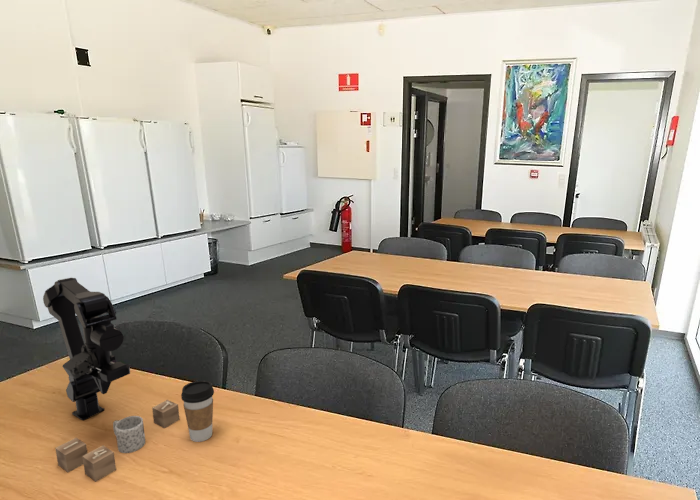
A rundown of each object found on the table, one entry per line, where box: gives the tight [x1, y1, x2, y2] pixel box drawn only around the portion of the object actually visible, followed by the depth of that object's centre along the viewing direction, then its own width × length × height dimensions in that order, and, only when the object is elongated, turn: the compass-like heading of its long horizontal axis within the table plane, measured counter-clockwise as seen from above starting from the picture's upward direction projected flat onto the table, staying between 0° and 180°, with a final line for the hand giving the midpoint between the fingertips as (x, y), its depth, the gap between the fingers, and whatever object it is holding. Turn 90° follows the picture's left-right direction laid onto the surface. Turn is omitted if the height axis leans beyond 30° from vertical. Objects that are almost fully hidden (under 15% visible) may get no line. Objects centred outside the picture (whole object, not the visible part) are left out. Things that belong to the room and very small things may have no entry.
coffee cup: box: [180, 380, 215, 443], centre depth 122 cm, size 8×8×15 cm
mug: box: [112, 415, 146, 454], centre depth 120 cm, size 10×7×7 cm, turn 62°
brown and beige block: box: [151, 399, 180, 429], centre depth 130 cm, size 5×5×5 cm
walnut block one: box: [55, 437, 89, 473], centre depth 112 cm, size 5×5×5 cm
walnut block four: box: [82, 444, 117, 482], centre depth 109 cm, size 5×5×5 cm
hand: (104, 393), depth 123 cm, fingers closed
